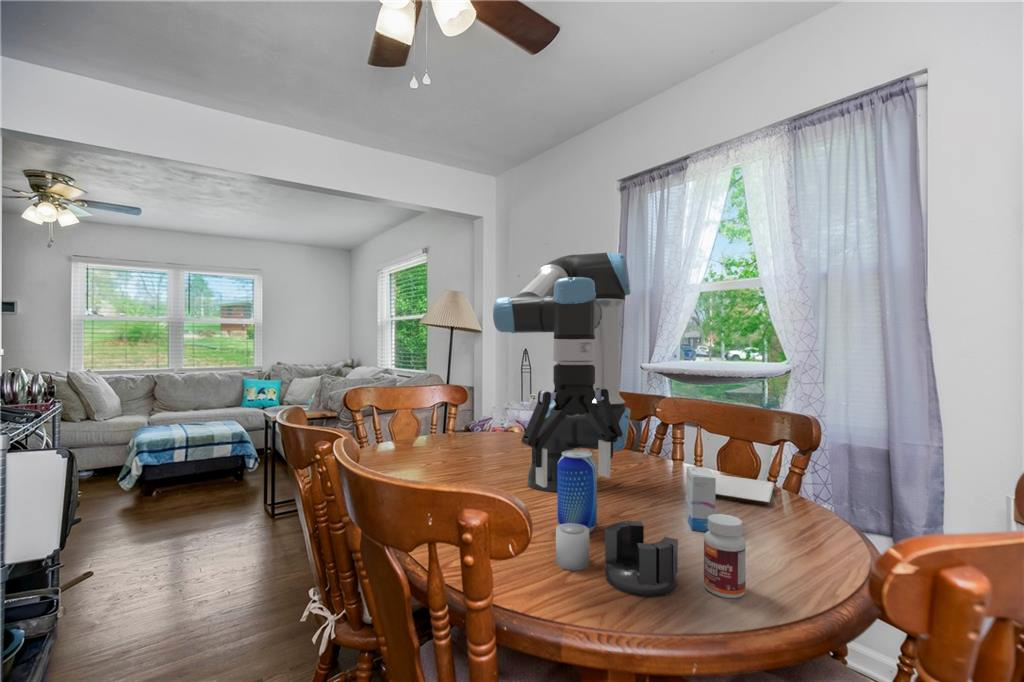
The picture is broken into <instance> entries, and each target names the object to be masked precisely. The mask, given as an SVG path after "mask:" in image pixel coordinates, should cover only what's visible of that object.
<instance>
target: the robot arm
mask: <svg viewBox="0 0 1024 682" xmlns="http://www.w3.org/2000/svg"><path fill="white" fill-rule="evenodd" d="M629 295H631V283H630V276H629V269H628V262H627V258H626V256H625V255H624V254H623V253H621V252H609V251H607V252H598V253H597V252H595V253H583V254H581V253H580V254H569V255H565V256H560V257H559V258H558V257H557V258H555V259H554V260H551V261H549V262H548V263H545V264H543V266H542V267H540V268H539V269H538V270H537V271H536V274H535V275H534V278H533V280H531V281H530V283H528V284H526V286H525V287H524V288H523V289H522V290H520V292H519V293H518V294H517V295H516V296H510V295H509V296H505V297H499V298H497V299H496V300H495V301H494V304H493V307H492V319H493V324H494V327H495V330H497V331H498V332H500V333H510V334H517V333H518V334H521V333H524V334H525V333H529V334H531V333H532V334H533V333H553V353H552V355H553V357H552V360H553V362H556V364H554V365H553V372H552V373H553V378H552V379H553V380H552V381H553V385H554V388H553V391H552V392H550V391H547V390H540V391H538V395H537V403H536V405H535V407H534V409H533V412H532V415H531V417H530V418H529V422H528V424H527V426H526V429H525V431H524V434H523V435H522V438H521V443H522V444H523V445H526V446H527V447H531V463H530V466H529V469H528V473H527V475H526V476H527V477H526V478H527V479H526V481H527V482H526V483H527V486H529V487H530V488H533V489H536V490H539V491H543V492H544V491H545V492H557V479H558V461H559V460H560V458H561V456H562V452H564V451H568V450H576V449H579V450H582V449H584V450H597V451H598V452H597V453H598V454H597V455H598V456H597V457H598V459H597V460H598V462H597V464H598V465H597V475H599V476H602V477H603V478H606V479H608V478H609V479H610V478H611V459H612V458H614V457H613V456H614V451H622V450H624V448H625V447H626V444H627V439H628V432H629V426H630V418H631V409H630V408H629V407H626V401H625V400H624V399H623V398H622V396H621V395H620V308H621V307H622V306H623V305H624V303H626V296H629Z"/></svg>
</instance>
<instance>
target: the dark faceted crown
mask: <svg viewBox="0 0 1024 682" xmlns="http://www.w3.org/2000/svg"><path fill="white" fill-rule="evenodd" d="M644 527H645V526H644V524H643V522H642V521H638V520H637V521H635V520H626V521H625V520H623V521H619V522H614V523H612V524H609V525H608V526H606V527H605V528H604V560H605V561H604V562H605V563H604V565H605V567H604V570H605V571H604V575H605V580H606V581H607V583H608V584H609V585H610V586H612V587H613V588H615V589H616V590H618V591H619V592H620V591H621V592H623V593H625V594H627V595H632V596H635V597H637V596H638V597H643V598H658V597H663V596H666V595H669V594H671V593H672V592H674V591H675V590H676V588H677V584H678V583H677V582H678V581H677V580H678V577H677V576H678V572H679V571H678V569H679V568H678V565H679V564H678V563H679V562H678V560H679V559H678V558H679V555H678V554H679V550H678V546H679V544H678V542H679V540H678V539H677V538H674V537H673V538H672V537H669V536H664V537H663V538H662V539H661V540H660V541H655V542H653V543H647V542H646V543H645V541H644V539H645V534H644V533H645V530H644V529H645V528H644Z"/></svg>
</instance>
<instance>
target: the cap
mask: <svg viewBox="0 0 1024 682" xmlns="http://www.w3.org/2000/svg"><path fill="white" fill-rule="evenodd" d="M555 563H556V565H557V566H558V567H559V568H561V569H564V570H568V571H582V570H586V569H587V568H589V566H590V532H589V529H588V528H587V527H586V526H584V525H581V524H576V523H565V524H561V525H557V526H556V528H555Z"/></svg>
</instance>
